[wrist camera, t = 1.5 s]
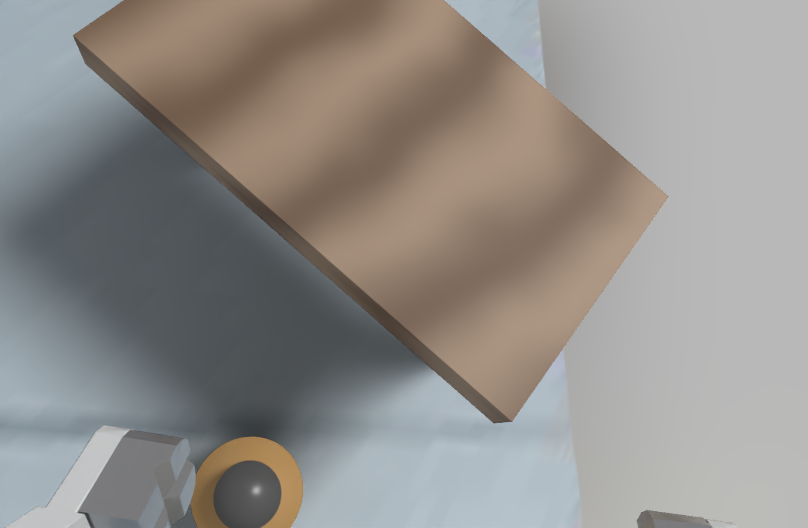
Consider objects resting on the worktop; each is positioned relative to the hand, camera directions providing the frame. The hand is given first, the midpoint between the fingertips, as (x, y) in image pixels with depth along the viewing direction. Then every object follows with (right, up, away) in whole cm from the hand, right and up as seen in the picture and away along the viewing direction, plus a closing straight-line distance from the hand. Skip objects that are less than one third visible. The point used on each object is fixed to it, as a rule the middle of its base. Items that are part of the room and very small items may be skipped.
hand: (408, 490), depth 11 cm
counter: (-5, +5, +35) cm, 36 cm away
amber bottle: (-10, -10, +29) cm, 33 cm away
